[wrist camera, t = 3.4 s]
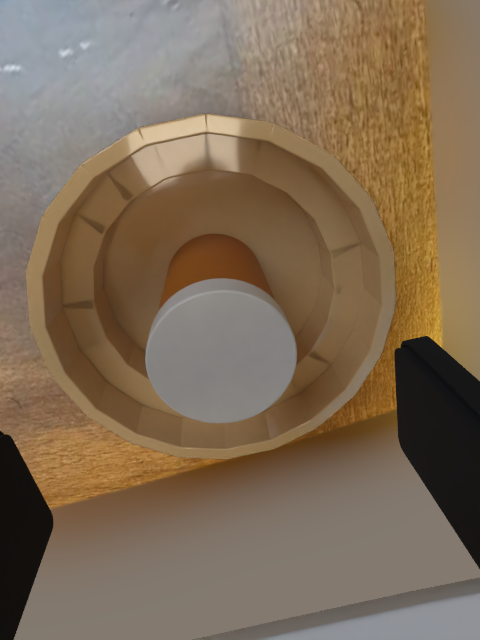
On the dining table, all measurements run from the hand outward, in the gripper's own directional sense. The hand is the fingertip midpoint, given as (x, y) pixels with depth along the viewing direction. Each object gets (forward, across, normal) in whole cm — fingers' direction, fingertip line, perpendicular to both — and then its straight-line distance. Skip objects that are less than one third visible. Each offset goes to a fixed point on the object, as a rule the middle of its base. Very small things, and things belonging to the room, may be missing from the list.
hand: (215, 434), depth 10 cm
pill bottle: (+11, 0, 0) cm, 11 cm away
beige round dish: (+12, 0, 0) cm, 12 cm away
